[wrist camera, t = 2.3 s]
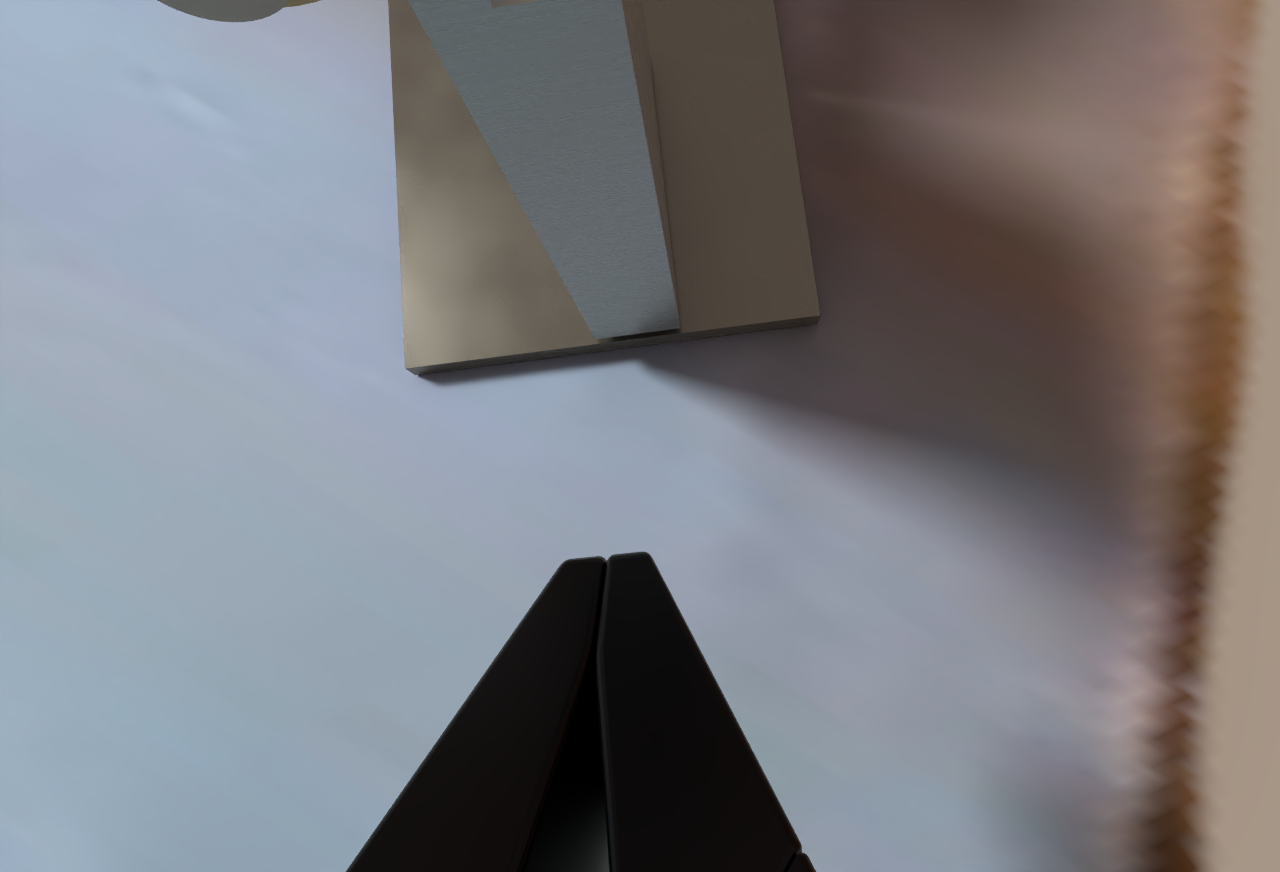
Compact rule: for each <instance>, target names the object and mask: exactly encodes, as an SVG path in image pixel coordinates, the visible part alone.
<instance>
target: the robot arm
mask: <svg viewBox="0 0 1280 872" xmlns="http://www.w3.org/2000/svg"><path fill="white" fill-rule="evenodd" d="M346 872H816V871H815V869H814V867H813V865H812V863H811V861H810V859H809V857H808V856H807V855H806V854H805V853H802V846H801V843H800V841H799V839H798V837H797V835H796V833H795V831H794V829H793V828H792V826H791V824H790V822H789V820H788V818H787V816H786V814H785V812H784V810H783V808H782V806H781V804H780V803H779V801H778V799H777V797H776V795H775V793H774V791H773V789H772V787H771V785H770V783H769V781H768V779H767V778H766V776H765V774H764V772H763V770H762V768H761V766H760V764H759V762H758V760H757V758H756V756H755V754H754V753H753V751H752V749H751V747H750V745H749V743H748V741H747V739H746V737H745V735H744V733H743V731H742V730H741V728H740V726H739V724H738V722H737V720H736V718H735V716H734V714H733V712H732V710H731V708H730V706H729V705H728V703H727V701H726V699H725V697H724V695H723V693H722V691H721V689H720V687H719V685H718V683H717V681H716V680H715V678H714V676H713V674H712V672H711V670H710V668H709V666H708V664H707V662H706V660H705V658H704V656H703V655H702V653H701V651H700V649H699V647H698V645H697V643H696V641H695V639H694V637H693V635H692V633H691V631H690V630H689V628H688V626H687V624H686V622H685V620H684V618H683V616H682V614H681V612H680V610H679V608H678V606H677V605H676V603H675V601H674V599H673V597H672V595H671V593H670V591H669V589H668V587H667V585H666V583H665V581H664V580H663V578H662V576H661V574H660V572H659V570H658V568H657V566H656V564H655V562H654V560H653V558H652V557H651V555H650V554H649V553H647V552H634V553H625V554H615V555H612V556H610V557H609V558H608V560H607V561H606V559H605V558H603V557H601V556H596V557H586V558H576V559H569V560H566V561H565V562H563V563H562V564H561V565H560V566H559V568H558V569H557V571H556V572H555V574H554V575H553V576H552V578H551V579H550V581H549V582H548V584H547V585H546V586H545V588H544V589H543V591H542V592H541V594H540V595H539V596H538V598H537V599H536V601H535V602H534V604H533V605H532V606H531V608H530V609H529V611H528V612H527V614H526V615H525V616H524V618H523V619H522V621H521V622H520V624H519V625H518V626H517V628H516V629H515V631H514V632H513V634H512V635H511V636H510V638H509V639H508V641H507V642H506V644H505V645H504V646H503V648H502V649H501V651H500V652H499V654H498V655H497V656H496V658H495V659H494V661H493V662H492V664H491V665H490V666H489V668H488V669H487V671H486V672H485V674H484V675H483V676H482V678H481V679H480V681H479V682H478V684H477V685H476V686H475V688H474V689H473V691H472V692H471V694H470V695H469V696H468V698H467V699H466V701H465V702H464V704H463V705H462V706H461V708H460V709H459V711H458V712H457V714H456V715H455V716H454V718H453V719H452V721H451V722H450V724H449V725H448V726H447V728H446V729H445V731H444V732H443V734H442V735H441V736H440V738H439V739H438V741H437V742H436V744H435V745H434V746H433V748H432V749H431V751H430V752H429V754H428V755H427V756H426V758H425V759H424V761H423V762H422V764H421V765H420V766H419V768H418V769H417V771H416V772H415V774H414V775H413V776H412V778H411V779H410V781H409V782H408V784H407V785H406V786H405V788H404V789H403V791H402V792H401V794H400V795H399V796H398V798H397V799H396V801H395V802H394V804H393V805H392V806H391V808H390V809H389V811H388V812H387V814H386V815H385V816H384V818H383V819H382V821H381V822H380V824H379V825H378V826H377V828H376V829H375V831H374V832H373V834H372V835H371V836H370V838H369V839H368V841H367V842H366V844H365V845H364V846H363V848H362V849H361V851H360V852H359V854H358V855H357V856H356V858H355V859H354V861H353V862H352V864H351V865H350V866H349V868H348V869H347V871H346Z"/></svg>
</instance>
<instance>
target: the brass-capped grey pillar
mask: <svg viewBox="0 0 1280 872" xmlns="http://www.w3.org/2000/svg"><path fill="white" fill-rule="evenodd" d="M158 1H160V2H162V3H163V4H165V5H167V6H170V7H172V8H174V9H176V10H179V11H181V12H184V13H187V14H190V15H193V16H197V17H200V18H205V19H209V20H215V21H223V22H247V21H254V20H258V19H262V18H265V17H268V16H270V15H272V14H274V13H276V12H278V11H279V10H280V9H282V8H283V7H292V6H300V5H304V4H308V3H313V2H317V1H320V0H158ZM408 1H409V3H410V5H411V7H412V9H413V11H414V12H415V14H416V16H417V18H418V20H419V21H420V23H421V25H422V27H423V29H424V30H425V32H426V34H427V36H428V38H429V39H430V41H431V43H432V45H433V47H434V49H435V50H436V52H437V54H438V56H439V58H440V59H441V61H442V63H443V65H444V67H445V68H446V70H447V72H448V74H449V76H450V77H451V79H452V81H453V83H454V85H455V87H456V88H457V90H458V92H459V94H460V96H461V97H462V99H463V101H464V103H465V105H466V106H467V108H468V110H469V112H470V114H471V115H472V117H473V119H474V121H475V123H476V125H477V126H478V128H479V130H480V132H481V134H482V135H483V137H484V139H485V141H486V143H487V144H488V146H489V148H490V150H491V152H492V153H493V155H494V157H495V159H496V161H497V163H498V164H499V166H500V168H501V170H502V172H503V173H504V175H505V177H506V179H507V181H508V182H509V184H510V186H511V188H512V190H513V191H514V193H515V195H516V197H517V199H518V201H519V202H520V204H521V206H522V208H523V210H524V211H525V213H526V215H527V217H528V219H529V220H530V222H531V224H532V226H533V228H534V229H535V231H536V233H537V235H538V237H539V239H540V240H541V242H542V244H543V246H544V248H545V249H546V251H547V253H548V255H549V257H550V258H551V260H552V262H553V264H554V266H555V267H556V269H557V271H558V273H559V275H560V277H561V278H562V280H563V282H564V284H565V286H566V287H567V289H568V291H569V293H570V295H571V296H572V298H573V300H574V302H575V304H576V305H577V307H578V309H579V311H580V313H581V315H582V316H583V318H584V320H585V322H586V324H587V325H588V327H589V329H590V331H591V333H592V334H593V336H594V338H595V339H601V338H609V337H616V336H624V335H632V334H640V333H647V332H655V331H663V330H671V329H679V328H680V320H679V312H678V303H677V294H676V285H675V276H674V268H673V259H672V250H671V241H670V232H669V224H668V215H667V206H666V197H665V188H664V180H663V171H662V162H661V153H660V144H659V136H658V127H657V118H656V109H655V100H654V92H653V83H652V74H651V65H650V56H649V48H648V39H647V32H646V25H645V18H644V11H643V5H642V0H408Z"/></svg>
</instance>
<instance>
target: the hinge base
mask: <svg viewBox="0 0 1280 872" xmlns="http://www.w3.org/2000/svg"><path fill="white" fill-rule="evenodd" d="M388 4H389V25H390V47H391V69H392V90H393V112H394V134H395V156H396V177H397V199H398V221H399V242H400V264H401V286H402V308H403V329H404V351H405V369H407V370H408V371H410V372H411V373H413V374H415V375H419V374H426V373H434V372H442V371H450V370H458V369H466V368H474V367H481V366H489V365H497V364H505V363H513V362H521V361H528V360H536V359H544V358H552V357H560V356H568V355H576V354H583V353H591V352H599V351H607V350H615V349H623V348H630V347H638V346H646V345H654V344H662V343H670V342H678V341H685V340H693V339H701V338H709V337H717V336H725V335H732V334H740V333H748V332H756V331H764V330H772V329H780V328H787V327H795V326H803V325H811V324H817V323H818V321H819V318H820V309H819V302H818V295H817V289H816V282H815V275H814V268H813V262H812V255H811V248H810V241H809V235H808V228H807V221H806V214H805V208H804V201H803V194H802V187H801V181H800V174H799V167H798V160H797V154H796V147H795V140H794V133H793V127H792V120H791V113H790V107H789V100H788V93H787V86H786V80H785V73H784V66H783V59H782V53H781V46H780V39H779V32H778V26H777V19H776V12H775V5H774V0H642V5H643V11H644V18H645V25H646V32H647V39H648V48H649V56H650V65H651V74H652V83H653V92H654V100H655V109H656V118H657V127H658V136H659V144H660V153H661V162H662V171H663V180H664V188H665V197H666V206H667V215H668V224H669V232H670V241H671V250H672V259H673V268H674V276H675V285H676V294H677V303H678V312H679V320H680V328H679V329H671V330H663V331H655V332H647V333H640V334H632V335H624V336H616V337H609V338H601V339H595V338H594V336H593V334H592V333H591V331H590V329H589V327H588V325H587V324H586V322H585V320H584V318H583V316H582V315H581V313H580V311H579V309H578V307H577V305H576V304H575V302H574V300H573V298H572V296H571V295H570V293H569V291H568V289H567V287H566V286H565V284H564V282H563V280H562V278H561V277H560V275H559V273H558V271H557V269H556V267H555V266H554V264H553V262H552V260H551V258H550V257H549V255H548V253H547V251H546V249H545V248H544V246H543V244H542V242H541V240H540V239H539V237H538V235H537V233H536V231H535V229H534V228H533V226H532V224H531V222H530V220H529V219H528V217H527V215H526V213H525V211H524V210H523V208H522V206H521V204H520V202H519V201H518V199H517V197H516V195H515V193H514V191H513V190H512V188H511V186H510V184H509V182H508V181H507V179H506V177H505V175H504V173H503V172H502V170H501V168H500V166H499V164H498V163H497V161H496V159H495V157H494V155H493V153H492V152H491V150H490V148H489V146H488V144H487V143H486V141H485V139H484V137H483V135H482V134H481V132H480V130H479V128H478V126H477V125H476V123H475V121H474V119H473V117H472V115H471V114H470V112H469V110H468V108H467V106H466V105H465V103H464V101H463V99H462V97H461V96H460V94H459V92H458V90H457V88H456V87H455V85H454V83H453V81H452V79H451V77H450V76H449V74H448V72H447V70H446V68H445V67H444V65H443V63H442V61H441V59H440V58H439V56H438V54H437V52H436V50H435V49H434V47H433V45H432V43H431V41H430V39H429V38H428V36H427V34H426V32H425V30H424V29H423V27H422V25H421V23H420V21H419V20H418V18H417V16H416V14H415V12H414V11H413V9H412V7H411V5H410V3H409V1H408V0H388Z"/></svg>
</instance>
